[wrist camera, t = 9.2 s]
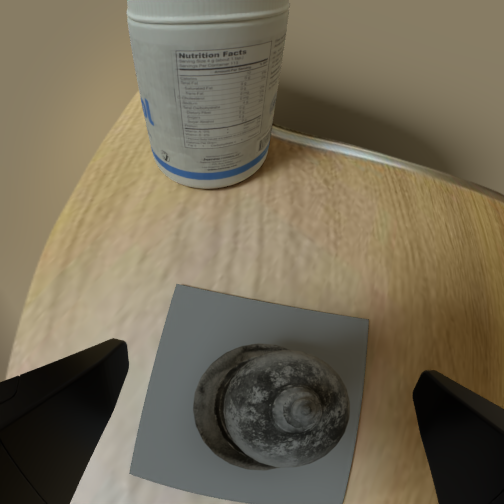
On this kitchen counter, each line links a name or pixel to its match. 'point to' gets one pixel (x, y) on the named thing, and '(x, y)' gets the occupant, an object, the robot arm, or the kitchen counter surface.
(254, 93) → the supplement tub
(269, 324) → the slate mat
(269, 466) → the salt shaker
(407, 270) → the kitchen counter surface
